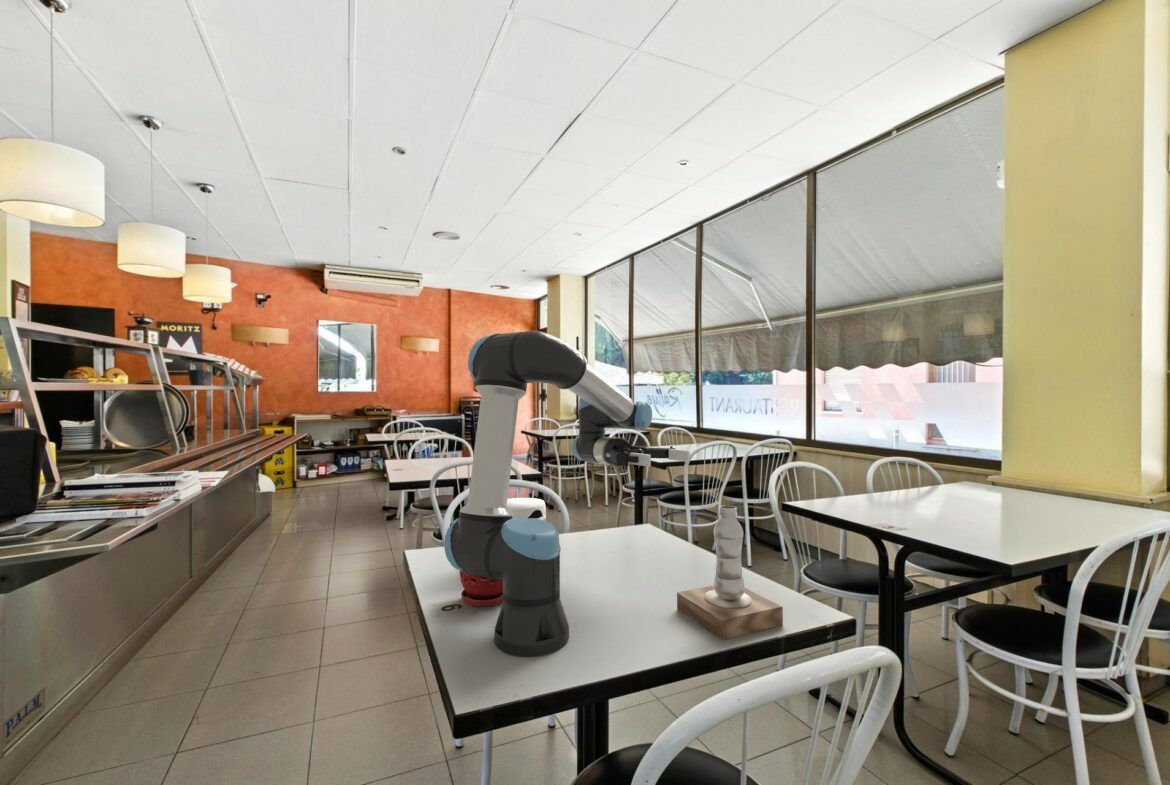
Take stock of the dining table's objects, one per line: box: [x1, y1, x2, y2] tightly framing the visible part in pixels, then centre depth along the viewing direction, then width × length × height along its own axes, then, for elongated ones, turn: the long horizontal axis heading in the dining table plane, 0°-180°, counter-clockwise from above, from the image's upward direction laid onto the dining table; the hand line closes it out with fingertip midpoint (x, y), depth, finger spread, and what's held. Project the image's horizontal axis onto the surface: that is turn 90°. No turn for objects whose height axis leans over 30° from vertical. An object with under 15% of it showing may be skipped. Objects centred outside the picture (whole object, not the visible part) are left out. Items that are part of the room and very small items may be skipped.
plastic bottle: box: [713, 505, 746, 600], centre depth 113 cm, size 6×7×20 cm
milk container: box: [507, 497, 547, 522], centre depth 152 cm, size 17×17×18 cm
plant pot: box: [459, 571, 503, 607], centre depth 125 cm, size 13×13×12 cm
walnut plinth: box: [676, 585, 784, 641], centre depth 113 cm, size 16×16×4 cm
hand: (669, 458), depth 124 cm, fingers open, 13 cm apart
